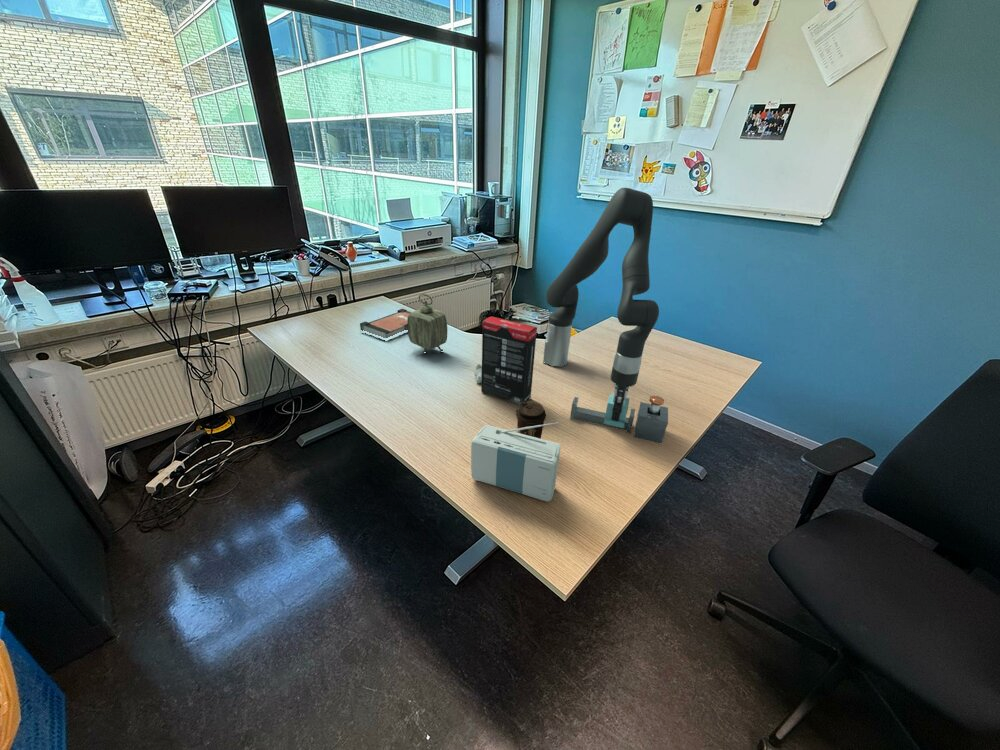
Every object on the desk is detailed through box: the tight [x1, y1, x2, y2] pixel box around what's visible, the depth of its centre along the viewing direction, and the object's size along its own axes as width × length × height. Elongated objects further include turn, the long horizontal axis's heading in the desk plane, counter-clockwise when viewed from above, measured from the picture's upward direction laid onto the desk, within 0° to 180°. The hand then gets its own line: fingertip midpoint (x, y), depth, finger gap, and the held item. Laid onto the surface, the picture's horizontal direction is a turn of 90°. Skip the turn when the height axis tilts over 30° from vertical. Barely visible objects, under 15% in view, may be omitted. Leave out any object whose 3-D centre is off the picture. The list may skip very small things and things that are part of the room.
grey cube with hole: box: [633, 401, 669, 444], centre depth 119 cm, size 8×8×8 cm
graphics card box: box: [480, 316, 538, 406], centre depth 131 cm, size 17×7×27 cm, turn 61°
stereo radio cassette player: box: [470, 421, 562, 503], centre depth 96 cm, size 21×8×20 cm, turn 69°
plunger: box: [648, 395, 665, 415], centre depth 117 cm, size 4×4×7 cm
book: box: [359, 308, 412, 338], centre depth 186 cm, size 26×18×5 cm
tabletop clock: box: [407, 293, 448, 353], centre depth 160 cm, size 14×9×25 cm, turn 58°
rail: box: [569, 396, 636, 434], centre depth 124 cm, size 19×4×6 cm, turn 70°
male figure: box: [474, 360, 482, 384], centre depth 152 cm, size 11×10×25 cm
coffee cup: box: [515, 401, 547, 439], centre depth 111 cm, size 9×8×13 cm
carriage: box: [604, 394, 631, 428], centre depth 122 cm, size 6×5×8 cm
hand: (615, 414), depth 122 cm, fingers closed on carriage, 5 cm apart
